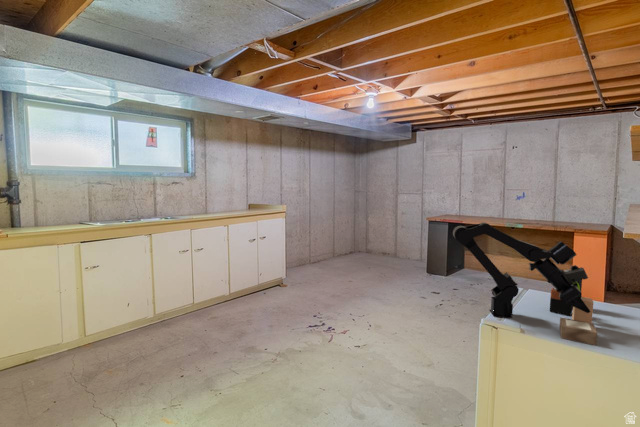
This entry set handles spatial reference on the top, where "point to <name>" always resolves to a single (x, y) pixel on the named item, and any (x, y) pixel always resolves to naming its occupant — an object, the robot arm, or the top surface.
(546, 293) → the top surface
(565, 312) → the battery
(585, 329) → the foundation block
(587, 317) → the pillar block
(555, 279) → the robot arm
